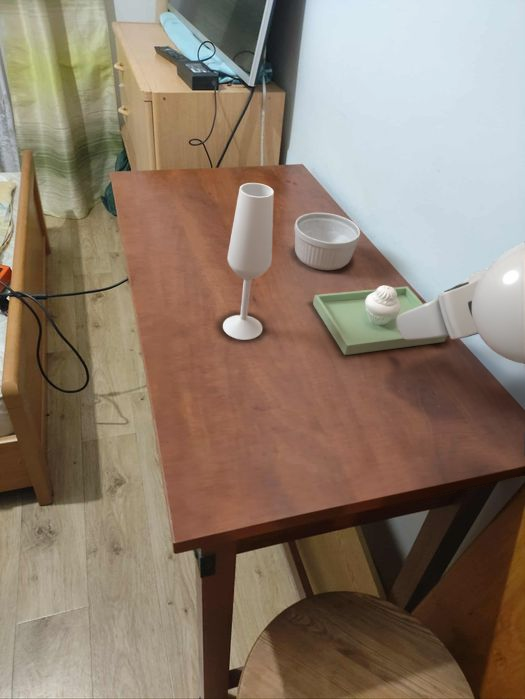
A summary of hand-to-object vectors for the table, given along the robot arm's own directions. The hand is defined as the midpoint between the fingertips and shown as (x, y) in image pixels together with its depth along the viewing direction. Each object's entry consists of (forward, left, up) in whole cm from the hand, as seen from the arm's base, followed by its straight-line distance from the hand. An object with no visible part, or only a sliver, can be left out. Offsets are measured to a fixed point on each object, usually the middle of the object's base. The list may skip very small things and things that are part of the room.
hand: (421, 317), depth 82 cm
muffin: (+7, -4, -6) cm, 10 cm away
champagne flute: (+26, +11, -7) cm, 29 cm away
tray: (+7, -4, -7) cm, 10 cm away
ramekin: (+24, -19, -7) cm, 31 cm away
